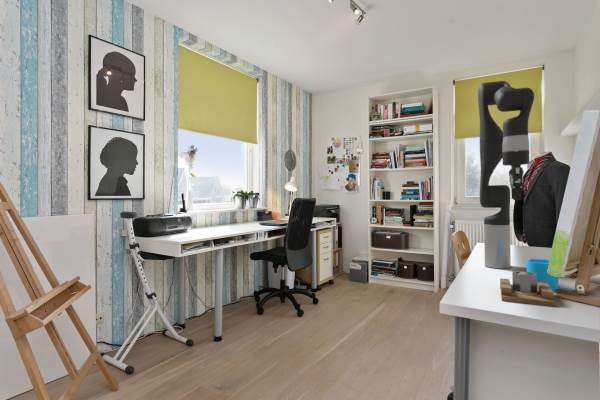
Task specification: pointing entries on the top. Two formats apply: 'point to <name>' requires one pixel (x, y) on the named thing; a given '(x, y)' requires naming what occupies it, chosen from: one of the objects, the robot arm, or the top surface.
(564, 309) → the top surface
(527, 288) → the hub
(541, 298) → the shaft stand
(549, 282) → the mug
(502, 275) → the top surface
